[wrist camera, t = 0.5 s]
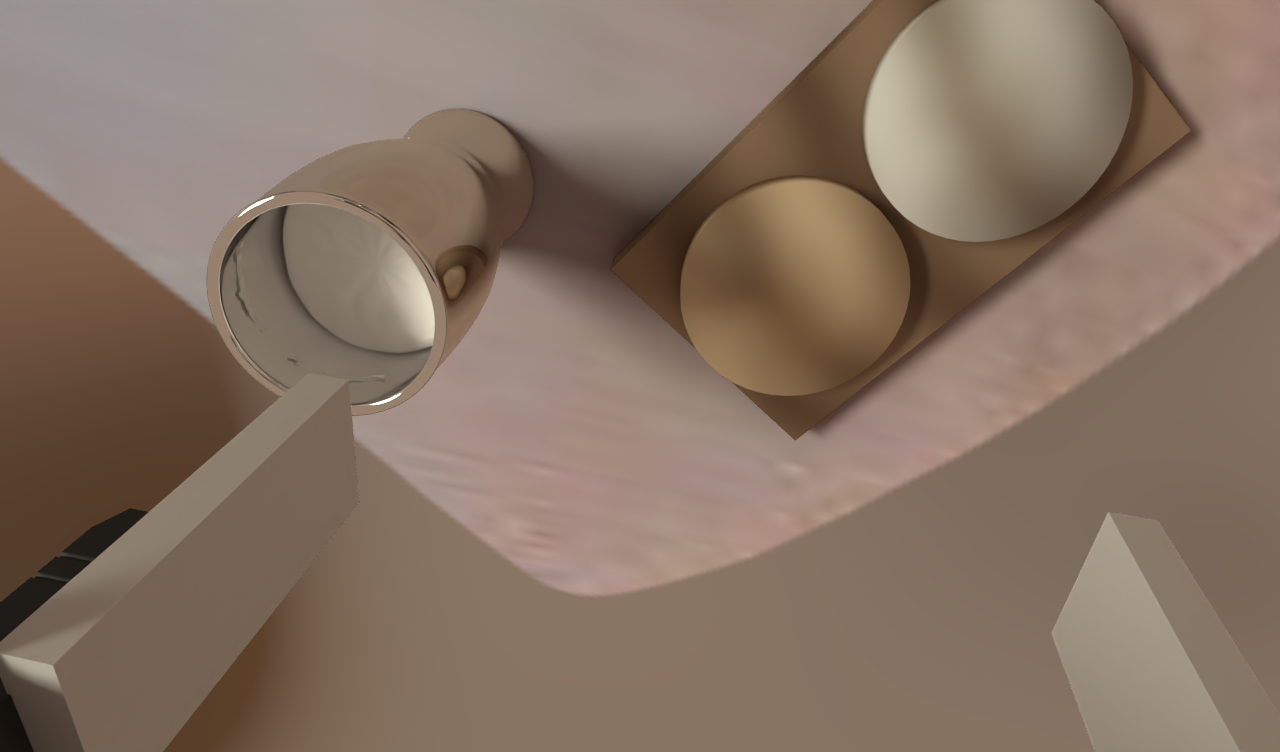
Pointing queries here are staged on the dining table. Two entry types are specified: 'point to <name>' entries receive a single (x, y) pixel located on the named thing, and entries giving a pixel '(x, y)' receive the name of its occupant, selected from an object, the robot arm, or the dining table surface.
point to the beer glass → (371, 258)
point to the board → (895, 190)
